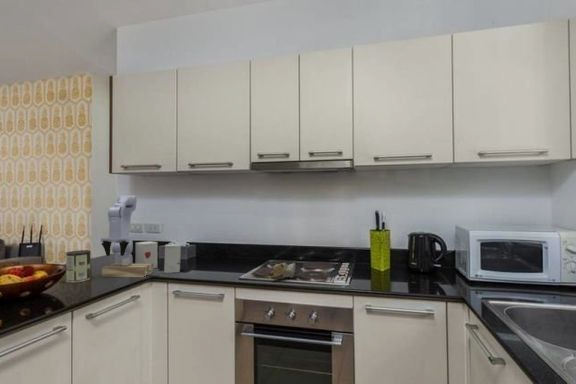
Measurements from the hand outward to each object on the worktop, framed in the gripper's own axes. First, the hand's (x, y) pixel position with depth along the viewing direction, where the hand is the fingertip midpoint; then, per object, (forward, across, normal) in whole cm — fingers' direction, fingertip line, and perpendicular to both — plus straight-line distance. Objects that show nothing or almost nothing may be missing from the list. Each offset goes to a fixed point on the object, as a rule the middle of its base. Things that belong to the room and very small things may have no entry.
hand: (115, 255), depth 172 cm
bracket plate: (+9, +5, +2) cm, 11 cm away
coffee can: (+11, -13, -10) cm, 19 cm away
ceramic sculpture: (+11, +88, -5) cm, 89 cm away
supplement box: (+10, +8, +18) cm, 23 cm away
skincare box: (+11, +27, +10) cm, 30 cm away
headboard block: (+10, +6, +2) cm, 12 cm away
